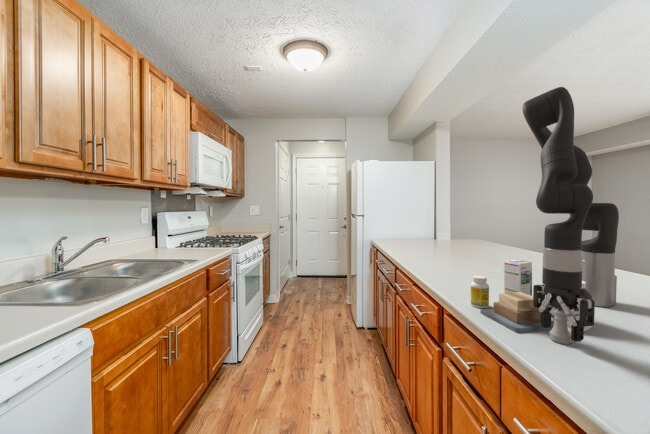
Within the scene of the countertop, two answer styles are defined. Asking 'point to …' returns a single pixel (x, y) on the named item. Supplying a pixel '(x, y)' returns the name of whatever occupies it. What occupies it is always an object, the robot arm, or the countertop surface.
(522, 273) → the syrup box
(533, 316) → the block tower
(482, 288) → the supplement bottle
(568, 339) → the rook chess piece
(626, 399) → the countertop surface
